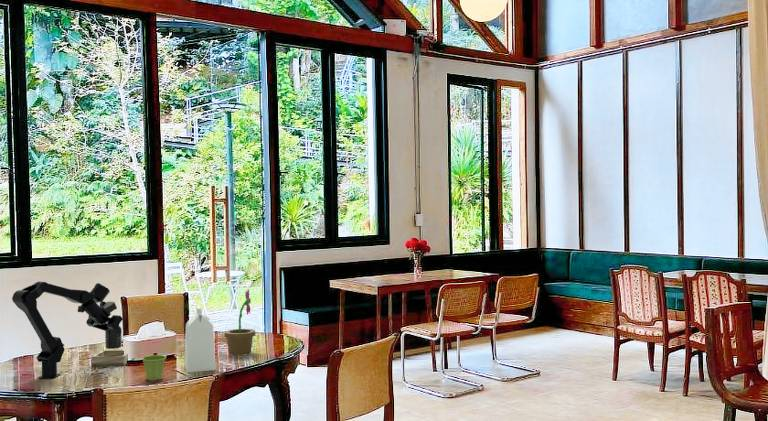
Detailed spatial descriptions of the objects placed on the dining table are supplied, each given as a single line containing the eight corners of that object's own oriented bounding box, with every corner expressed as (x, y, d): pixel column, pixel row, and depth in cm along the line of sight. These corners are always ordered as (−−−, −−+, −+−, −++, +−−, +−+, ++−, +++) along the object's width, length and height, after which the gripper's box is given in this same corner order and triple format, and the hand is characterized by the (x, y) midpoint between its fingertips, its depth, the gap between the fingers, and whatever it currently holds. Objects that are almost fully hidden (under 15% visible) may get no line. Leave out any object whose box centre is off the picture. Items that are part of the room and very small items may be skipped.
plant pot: (169, 376, 297) (169, 354, 297) (163, 381, 287) (162, 359, 287) (146, 376, 297) (145, 355, 296) (139, 382, 287) (138, 360, 287)
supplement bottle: (122, 348, 322) (122, 321, 322) (106, 349, 319) (105, 322, 319) (120, 345, 329) (120, 319, 329) (104, 347, 325) (104, 320, 325)
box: (123, 365, 318) (123, 356, 318) (91, 365, 317) (91, 356, 317) (134, 358, 332) (133, 349, 332) (103, 359, 331) (103, 350, 331)
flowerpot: (258, 354, 337) (257, 290, 336) (227, 357, 331) (226, 291, 331) (252, 348, 350) (251, 286, 350) (222, 351, 345) (221, 288, 344)
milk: (184, 366, 314) (183, 306, 314) (211, 364, 318) (210, 304, 318) (187, 372, 303) (186, 310, 302) (215, 369, 307) (214, 308, 306)
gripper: (118, 297, 316) (139, 319, 325) (92, 295, 326) (113, 316, 335) (103, 317, 309) (125, 339, 318) (76, 314, 319) (98, 336, 328)
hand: (115, 332), depth 325 cm, fingers closed on supplement bottle, 7 cm apart
